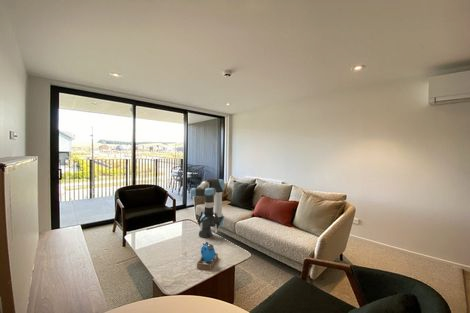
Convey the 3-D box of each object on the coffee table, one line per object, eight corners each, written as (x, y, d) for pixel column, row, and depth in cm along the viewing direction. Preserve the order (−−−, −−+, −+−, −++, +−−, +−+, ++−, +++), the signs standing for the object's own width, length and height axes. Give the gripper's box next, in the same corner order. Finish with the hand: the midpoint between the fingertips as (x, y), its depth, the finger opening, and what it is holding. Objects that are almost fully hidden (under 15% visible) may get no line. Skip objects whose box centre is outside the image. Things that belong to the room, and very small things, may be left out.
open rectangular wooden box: (205, 255, 179) (205, 251, 179) (217, 257, 176) (217, 253, 176) (196, 267, 160) (196, 263, 160) (210, 270, 158) (210, 265, 158)
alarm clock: (215, 262, 166) (215, 244, 165) (209, 265, 161) (209, 247, 161) (206, 256, 175) (206, 239, 174) (200, 258, 171) (200, 241, 170)
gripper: (193, 206, 166) (193, 231, 167) (221, 209, 161) (221, 234, 162) (197, 204, 174) (196, 228, 174) (224, 206, 168) (223, 231, 169)
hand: (208, 231), depth 168 cm, fingers open, 13 cm apart
